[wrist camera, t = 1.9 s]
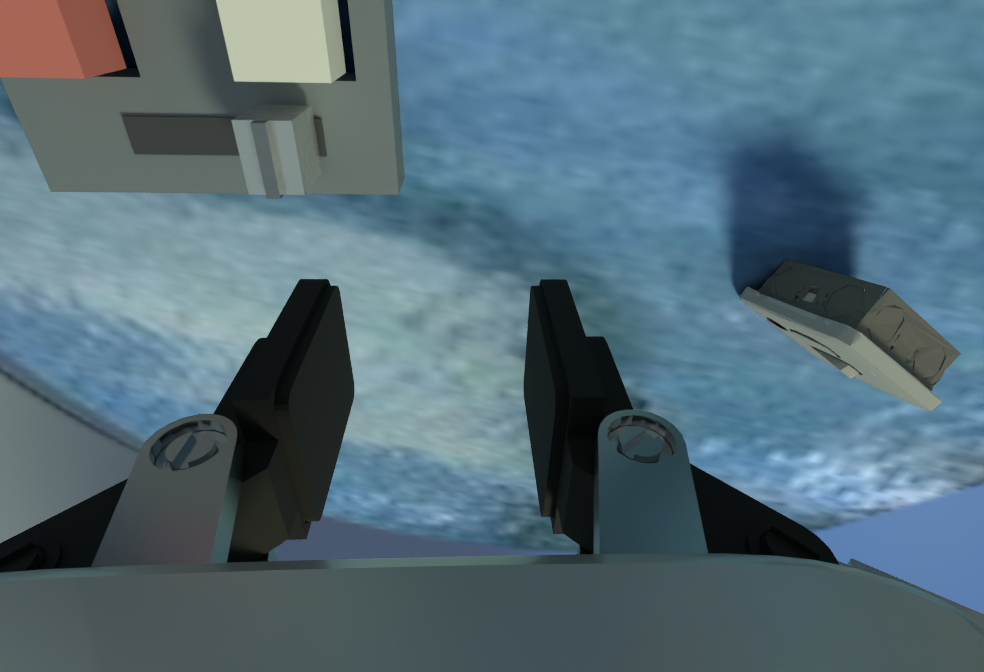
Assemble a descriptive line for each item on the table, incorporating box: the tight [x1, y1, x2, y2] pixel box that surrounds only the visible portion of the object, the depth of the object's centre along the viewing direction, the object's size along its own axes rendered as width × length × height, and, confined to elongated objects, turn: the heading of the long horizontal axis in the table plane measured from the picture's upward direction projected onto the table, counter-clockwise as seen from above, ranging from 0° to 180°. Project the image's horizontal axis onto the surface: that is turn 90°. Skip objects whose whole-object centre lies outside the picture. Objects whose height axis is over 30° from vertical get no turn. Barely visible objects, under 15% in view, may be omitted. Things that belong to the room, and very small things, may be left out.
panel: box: [0, 0, 404, 195], centre depth 26 cm, size 11×18×3 cm, turn 89°
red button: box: [0, 0, 126, 79], centre depth 22 cm, size 4×4×3 cm
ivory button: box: [216, 0, 346, 83], centre depth 22 cm, size 4×4×3 cm
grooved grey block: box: [231, 104, 322, 199], centre depth 24 cm, size 3×2×4 cm
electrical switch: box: [740, 259, 961, 411], centre depth 33 cm, size 9×5×9 cm, turn 54°
